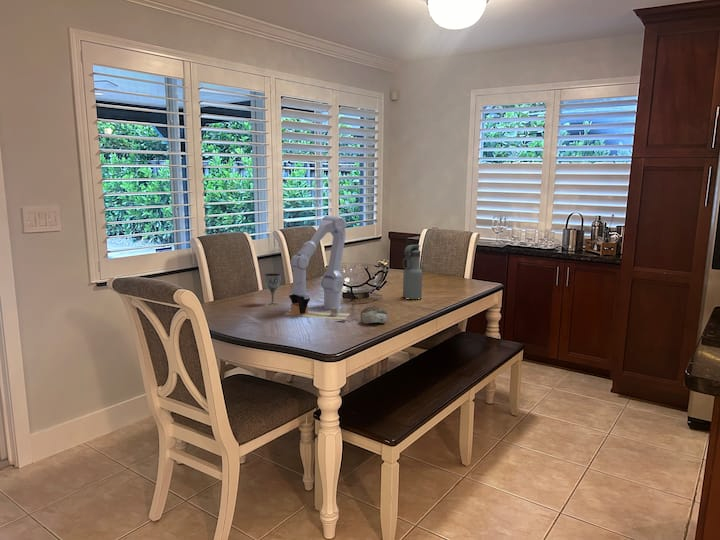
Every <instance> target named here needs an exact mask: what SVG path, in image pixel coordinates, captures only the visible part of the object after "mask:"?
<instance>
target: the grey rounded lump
mask: <svg viewBox="0 0 720 540" xmlns="http://www.w3.org/2000/svg"><path fill="white" fill-rule="evenodd" d="M359 316H360V321H361V323H363V324H364V325H365V324H367V325H368V324H373V323H375V324H377V323H380V324H384V322H386V323H387V321H388V320H387V319H388V317H389V316H388V311H387V310H386V309H385V308H382V307H379V306H374V305H373V306H371V305H369V306H367V307H365V308H364V309H363V310H362V311H361V312H360V315H359Z"/></svg>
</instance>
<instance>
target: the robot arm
mask: <svg viewBox="0 0 720 540" xmlns="http://www.w3.org/2000/svg"><path fill="white" fill-rule="evenodd" d="M346 225H347V221H346V220H345V219H344V218H343V217H342V216H340V215H338V216H335V215H329V214H328V215H327V214H326V215H325V216H323V218H322V219H321V220H320V221H319V226H318V227H317V229H316V231H315V233H314V234H313V236H312V237H311V239H310V240H308V241H305V242H303V244H302V247H301V248H300V249H299V250H298V252H297V254H294V255H293V256H292V257H291V259H290V261H289V264H290V266H291V268H292V288H290V289H289V295H288V296H289V299H290V301H291V304H294V303H299V309H300V314H303V313H305V311H306V307H307V305H308V304H309V302H310V300H311V298H310V294H309V293H308V292H307V267H309V264H310V260H311V258H312V256H313V255H314V254H315V253H316V251H317V245H318V244H319V242H321V241H322V240H323V238H324V237H325V236H326V235H327V234H328V233H330V234H331V235H332V237H333V238H332V243H331V249H330V254H329V255H330V256H329V262H328V267H327V270H326V271H325V272H324V273H323V276H322V278H321V280H320V287H321V288H322V289H323V293H324V294H323V296H324V297H323V308H324V309H326V310H331V307H338V310H342V309H343V306H341V295H342V294H341V291H342V289H343V287H344V282H343V279H344V278H343V275H342V273H341V272H340V271H341V266H342V259H343V254H344V253H343V252H344V248H345V242H346V236H347V235H346Z"/></svg>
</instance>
